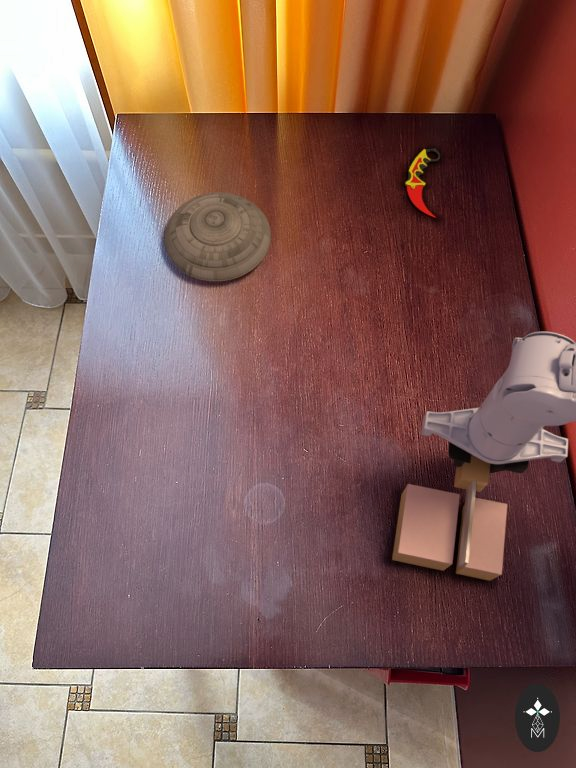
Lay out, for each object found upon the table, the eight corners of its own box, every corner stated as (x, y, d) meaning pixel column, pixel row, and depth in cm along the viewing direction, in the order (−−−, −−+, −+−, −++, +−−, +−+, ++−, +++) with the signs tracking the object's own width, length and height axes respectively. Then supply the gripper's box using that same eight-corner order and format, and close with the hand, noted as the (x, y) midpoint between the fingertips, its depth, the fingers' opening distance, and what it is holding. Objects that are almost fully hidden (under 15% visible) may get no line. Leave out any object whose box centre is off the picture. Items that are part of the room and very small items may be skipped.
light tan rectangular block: (496, 513, 82) (507, 504, 78) (490, 581, 79) (502, 574, 74) (462, 506, 82) (472, 496, 78) (455, 573, 79) (465, 567, 75)
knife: (437, 217, 99) (403, 212, 99) (436, 218, 100) (402, 213, 100) (441, 148, 104) (409, 143, 105) (440, 150, 105) (408, 145, 105)
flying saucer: (143, 253, 97) (136, 229, 92) (207, 184, 102) (203, 157, 97) (230, 305, 93) (227, 283, 88) (291, 230, 99) (292, 205, 94)
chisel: (459, 438, 81) (466, 428, 78) (484, 443, 81) (493, 433, 77) (445, 565, 75) (452, 559, 72) (472, 571, 75) (481, 565, 71)
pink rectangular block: (451, 504, 82) (460, 494, 78) (443, 570, 79) (452, 564, 75) (401, 494, 83) (407, 483, 79) (391, 560, 79) (398, 552, 75)
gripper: (587, 394, 67) (539, 441, 79) (439, 366, 68) (414, 416, 80) (584, 462, 64) (535, 500, 76) (430, 432, 65) (406, 473, 77)
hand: (473, 461), depth 78 cm, fingers closed on chisel, 3 cm apart
